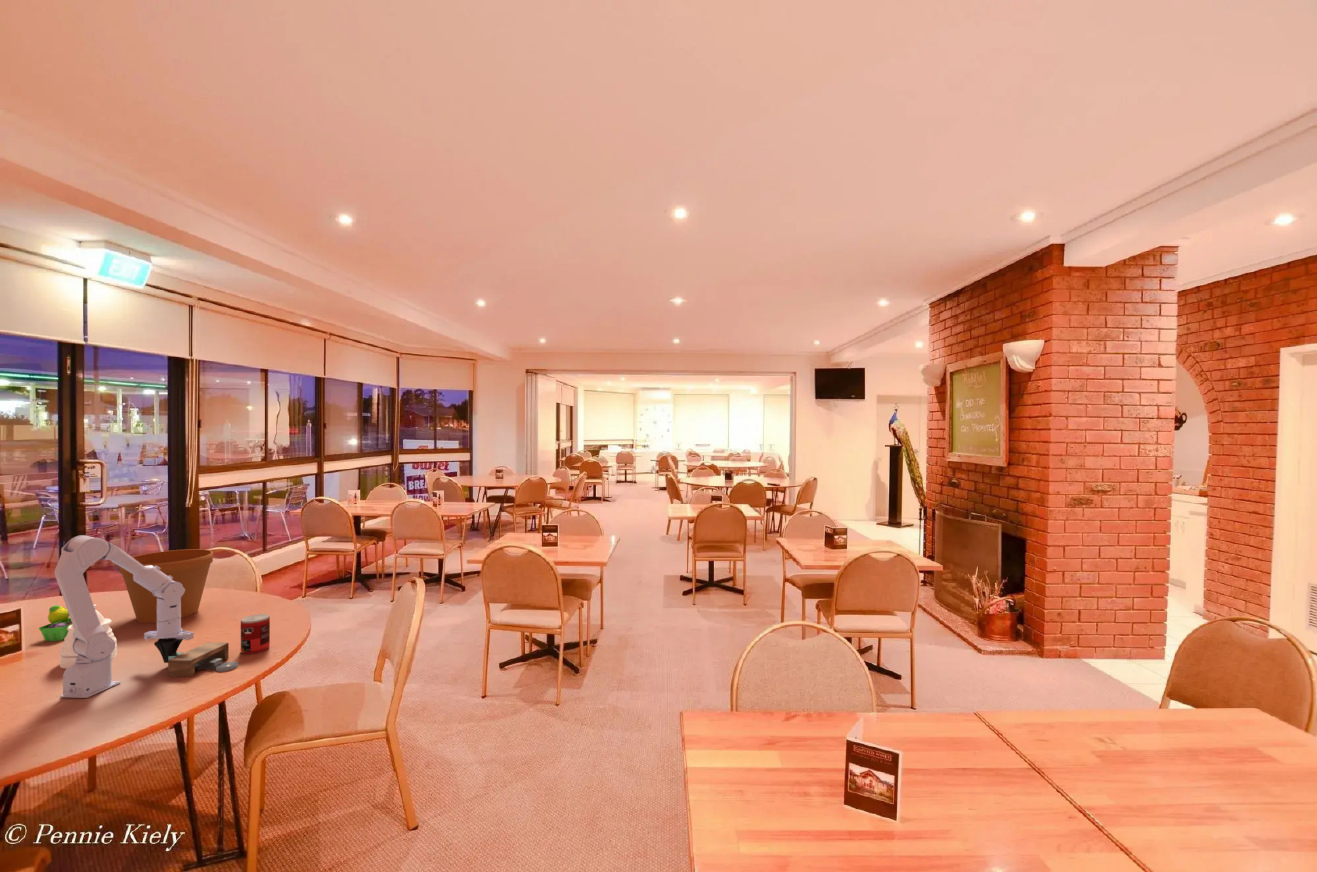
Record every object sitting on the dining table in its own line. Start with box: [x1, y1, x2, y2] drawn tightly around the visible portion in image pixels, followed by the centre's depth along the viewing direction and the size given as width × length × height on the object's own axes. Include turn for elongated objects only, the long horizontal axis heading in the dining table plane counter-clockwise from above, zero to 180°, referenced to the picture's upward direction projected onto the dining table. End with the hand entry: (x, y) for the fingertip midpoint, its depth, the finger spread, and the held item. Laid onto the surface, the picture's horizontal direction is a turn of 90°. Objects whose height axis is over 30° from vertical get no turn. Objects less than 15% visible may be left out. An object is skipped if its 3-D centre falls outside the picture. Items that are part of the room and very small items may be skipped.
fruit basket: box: [38, 604, 72, 642], centre depth 199 cm, size 11×9×11 cm
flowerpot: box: [119, 548, 214, 624], centre depth 222 cm, size 28×28×24 cm
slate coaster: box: [215, 661, 239, 673], centre depth 173 cm, size 6×6×1 cm
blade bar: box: [168, 651, 223, 671], centre depth 174 cm, size 3×15×4 cm, turn 87°
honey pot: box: [59, 603, 118, 670], centre depth 179 cm, size 13×13×18 cm
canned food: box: [240, 613, 271, 655], centre depth 188 cm, size 8×8×11 cm
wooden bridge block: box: [167, 641, 230, 678], centre depth 174 cm, size 14×7×5 cm, turn 177°
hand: (169, 661), depth 174 cm, fingers closed
